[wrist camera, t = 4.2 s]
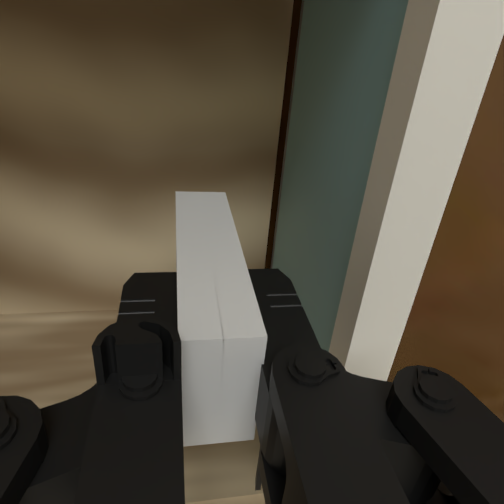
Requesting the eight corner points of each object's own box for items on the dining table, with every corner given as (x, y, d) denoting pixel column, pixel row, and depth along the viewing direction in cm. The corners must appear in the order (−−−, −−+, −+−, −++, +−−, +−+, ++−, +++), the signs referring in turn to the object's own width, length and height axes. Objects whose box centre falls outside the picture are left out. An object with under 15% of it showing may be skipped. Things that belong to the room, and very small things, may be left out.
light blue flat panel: (305, -71, 16) (506, -258, 5) (335, -68, 16) (596, -241, 5) (263, 302, 25) (302, 531, 14) (282, 303, 25) (336, 529, 14)
